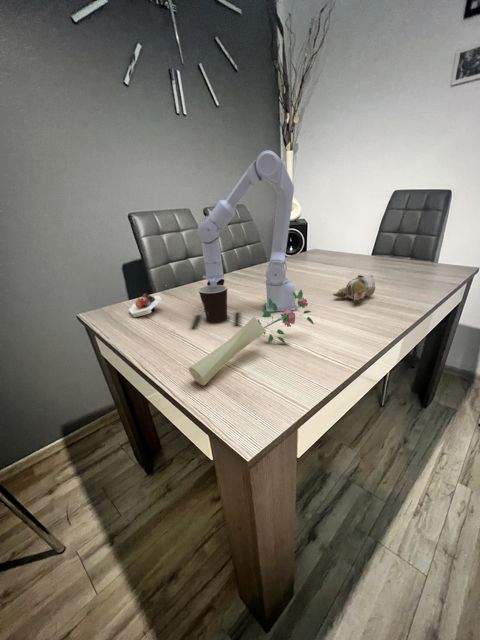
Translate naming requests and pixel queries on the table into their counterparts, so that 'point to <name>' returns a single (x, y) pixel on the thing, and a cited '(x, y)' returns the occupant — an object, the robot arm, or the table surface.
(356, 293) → the ceramic sculpture
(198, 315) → the guide strips
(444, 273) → the table surface
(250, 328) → the flower vase
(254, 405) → the table surface
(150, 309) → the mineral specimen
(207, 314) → the coffee mug
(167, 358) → the table surface
